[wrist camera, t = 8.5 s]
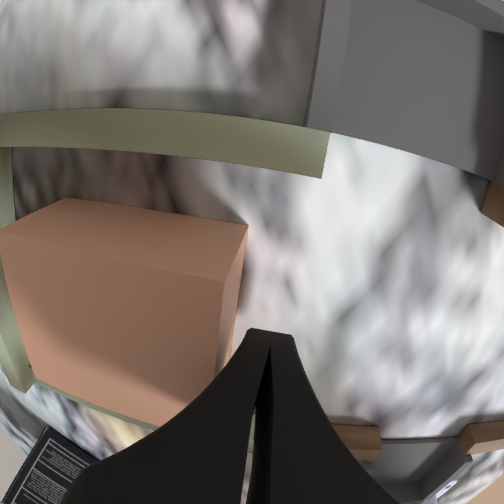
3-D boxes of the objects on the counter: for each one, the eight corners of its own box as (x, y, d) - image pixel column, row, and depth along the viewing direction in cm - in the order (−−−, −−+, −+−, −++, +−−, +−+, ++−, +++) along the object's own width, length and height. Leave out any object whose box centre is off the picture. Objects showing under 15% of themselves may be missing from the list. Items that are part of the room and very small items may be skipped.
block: (229, 362, 13) (208, 439, 9) (83, 323, 13) (35, 377, 10) (249, 223, 10) (224, 281, 7) (70, 195, 11) (-4, 230, 7)
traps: (420, 480, 16) (424, 502, 14) (232, 473, 16) (226, 499, 15) (600, 107, 6) (629, 112, 4) (327, -35, 7) (334, -65, 5)
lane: (525, 426, 13) (537, 451, 11) (33, 359, 15) (10, 385, 13) (624, 250, 8) (649, 268, 5) (-3, 115, 9) (-45, 122, 7)
